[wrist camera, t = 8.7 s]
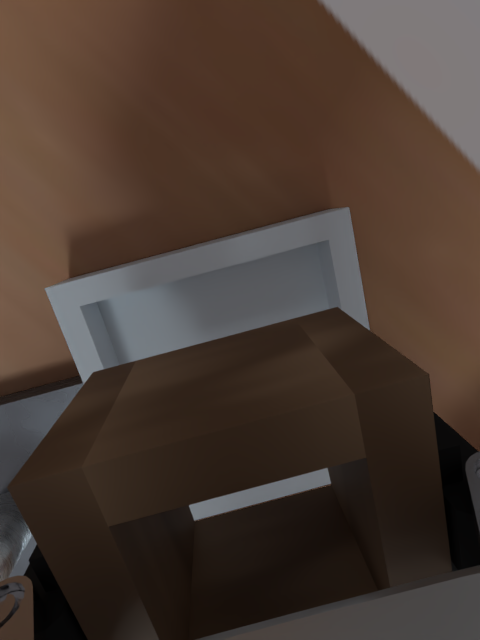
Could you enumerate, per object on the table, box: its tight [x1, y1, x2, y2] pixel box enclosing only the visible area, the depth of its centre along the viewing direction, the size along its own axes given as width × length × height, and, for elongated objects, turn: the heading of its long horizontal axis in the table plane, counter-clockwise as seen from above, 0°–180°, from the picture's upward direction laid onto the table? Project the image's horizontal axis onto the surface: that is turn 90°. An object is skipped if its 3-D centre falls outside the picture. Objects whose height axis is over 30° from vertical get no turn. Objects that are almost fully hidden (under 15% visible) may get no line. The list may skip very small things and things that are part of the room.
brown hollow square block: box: [7, 307, 452, 640], centre depth 9 cm, size 7×8×4 cm
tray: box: [45, 207, 370, 521], centre depth 17 cm, size 12×12×2 cm
